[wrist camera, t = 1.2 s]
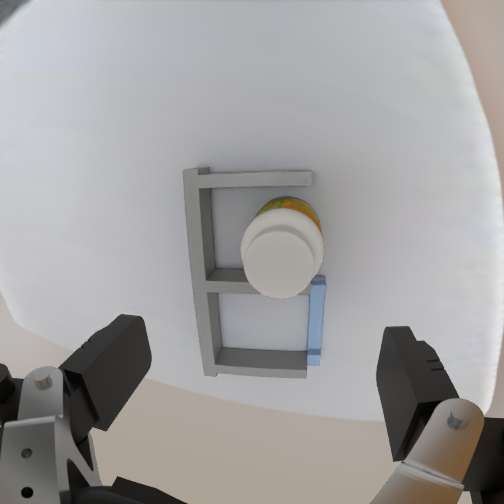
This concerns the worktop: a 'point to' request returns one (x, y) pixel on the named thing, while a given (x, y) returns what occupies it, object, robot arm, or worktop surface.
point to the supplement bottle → (282, 248)
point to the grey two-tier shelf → (230, 276)
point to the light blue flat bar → (315, 320)
